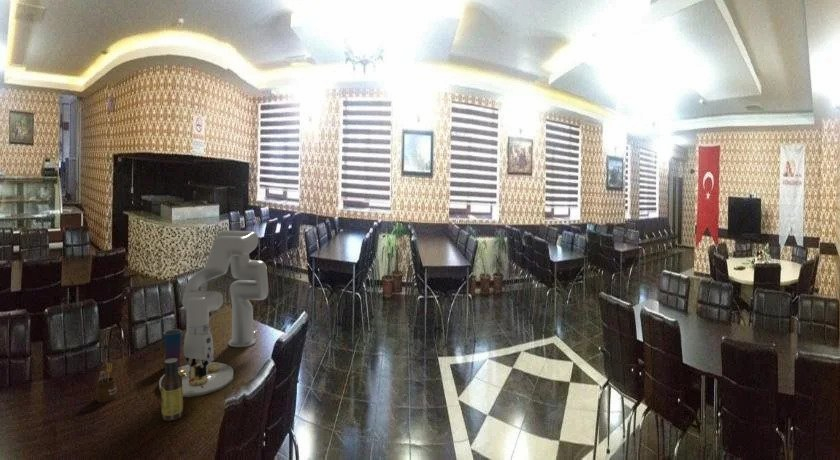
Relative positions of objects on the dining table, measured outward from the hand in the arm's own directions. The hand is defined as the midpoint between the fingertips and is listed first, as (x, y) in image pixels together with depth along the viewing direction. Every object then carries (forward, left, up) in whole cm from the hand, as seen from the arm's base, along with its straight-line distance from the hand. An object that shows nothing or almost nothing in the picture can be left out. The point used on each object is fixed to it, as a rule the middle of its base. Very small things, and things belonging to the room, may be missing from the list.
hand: (198, 375), depth 163 cm
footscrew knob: (0, 0, -3) cm, 3 cm away
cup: (-13, -25, -6) cm, 29 cm away
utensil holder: (+17, -24, -6) cm, 30 cm away
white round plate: (-5, -5, -5) cm, 9 cm away
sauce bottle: (+19, +7, -6) cm, 21 cm away
